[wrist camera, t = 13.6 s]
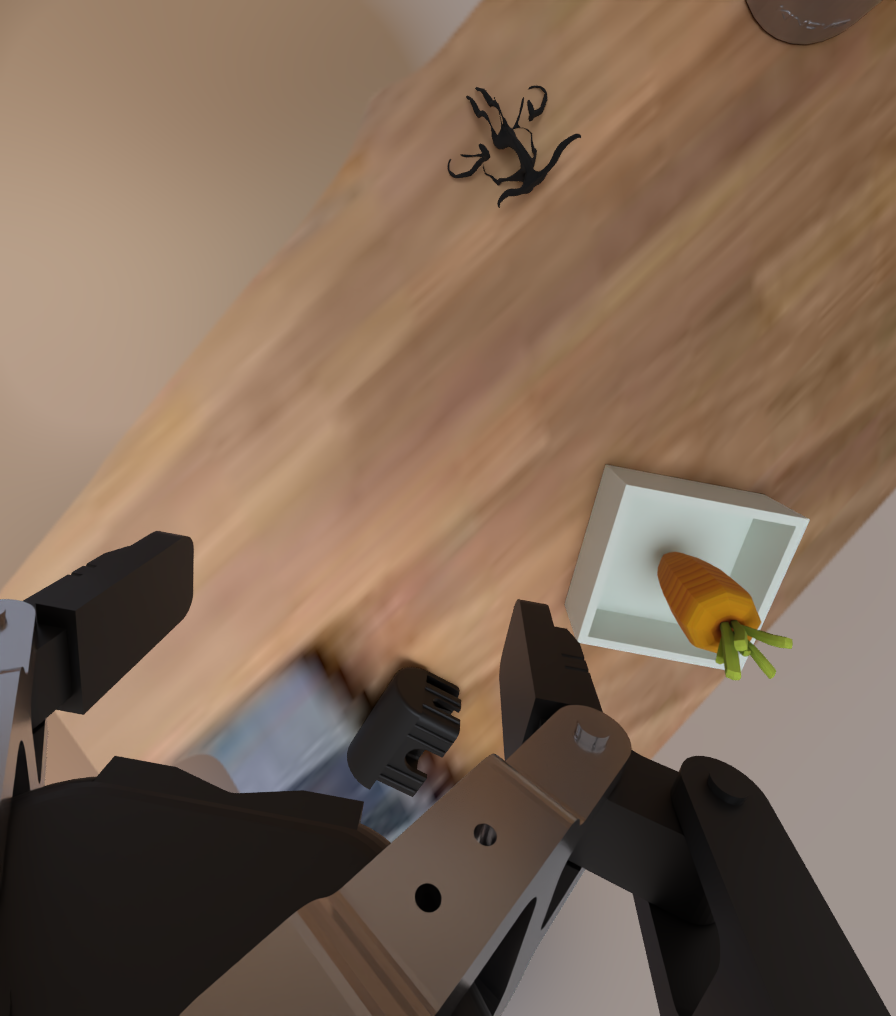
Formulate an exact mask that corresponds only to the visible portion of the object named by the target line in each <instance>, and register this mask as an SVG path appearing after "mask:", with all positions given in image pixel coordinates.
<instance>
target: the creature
mask: <svg viewBox="0 0 896 1016" xmlns="http://www.w3.org/2000/svg"><path fill="white" fill-rule="evenodd" d="M534 87H536V88H541V90H542V91H543V92H544V93H545V94H544V98H543V101H542V104H541V107H540V108H539V109H537V110H534V108H533V105H532V103H531V102H530V100H528V101H527V106H528V111H529V118H528V119H529V121H532V120H533V119H534V118H535V117H537V116H539V115H540V114H542V112H543V110H544V107H545V105H546V102H547V92H546V90H545V89H544V88H543V87H541V86H531V87H529V89H531V88H534ZM475 89H476V90H477V91H481V93H482V94H483V96H484V98H485V100H486V101H487V103H488V105H489V106H490V107H492V106H494V107H496V108H497V109H498V111H499V115H500V113H501V110H500V107H499V104H498V103H497V102H496V100H492V98H491V97H490V95H489V94H488V93H487V92H486V90H485V89H482V88H478V87H476V88H475ZM466 98H467V99H468V100H470V103H471V105H472V107H473V110H474V112H475V114H476V116H477V117H478V118H480V117H481V116H483V117H484V118H485V119H486V120H487V121H488V122H489V124H490V126H491V132H492V140H493V143H494V145H495V147H497V148H498V149H505V148H507V147H511V148H512V149H513V150H515V152H516V153H517V155H518V157H519V160H520V163H521V169H520V170H518V171H517V172H516V173H515V174H513V175H512V176H510V177H507V178H499V179H498V180H497V179H495V178H494V177H493V176H491V175H489V174H486V173H485V174H486V175H488V176H490V177H491V178H492V179H493V181H494V182H495V183H496V184H497V185H500V184H501V183H502V182H504V181H520V182H523V185H522V186H521V187H520V188H518V189H508V190H506V191H505V192H504V193H503V194H502V195H501V196H500V198H499V200H498V207H499V208H500V203H501V202H502V201H503V200H504V199H505V198H507V197H508V196H518V195H521V194H527V193H530V192H531V191H532V190H533V188H534V187H535V186H536V185H539V184H540V183H541V182H542V181H543V180H544V178H545V177H546V175H547V173H548V172H549V171H550V170H551V169H552V167H553V166H554V165H555V164H556V162H557V161H558V159H559V157H560V155H561V153H562V151H563V150H564V149H565V148H566V146H567V145H568V144H569V143H571V142H572V141H573V140H575V139H577V138H581V135H580V134H574V135H572V136H570V137H568V138H567V139H565V140H564V141H563V142H561V143H560V144H559V145H558V147H557V148H556V150H555V152H554V154H553V156H552V158H551V160H550V162H549V164H548V165H547V166H546V167H545V168H544V169H543V170H541V171H535V170H534V169H533V168H534V164H535V159H536V155H537V154H536V153H537V150H536V149H535V148H534V145H533V142H532V133H531V132H530V131H529V130H528V129H526V130H527V131H529V132H530V133H531V147H532V152H533V153H534V157H533V158H531V157H530V155H529V154H528V152H527V151H526V149H525V148H524V146H523V145H522V144H521V142H520V141H519V140H518V139H517V137H516V135H515V132H514V130H513V129H516V128H521V127H520V126H519V125H518V121H519V117H520V114H521V111H522V107H523V102H524V97H523V99H522V102H521V107H520V112H519V116H518V118H517V121H516V123H515V125H514V127H513V129H512V128H510V127H509V125H508V124H507V121H506V119H505V118H504V117H503V115H502V113H501V116H502V119H503V124H502V121H501V130H500V132H499V134H498V135H497V134H496V132H495V130H494V129H493V127H492V125H491V123H490V120H489V118H488V115H487V114H486V112H485V111H483V110H482V111H480V110H479V108H478V106H477V104H476V103H475V101H474V100H473V99H472V98H471V97H469V96H467V97H466ZM494 99H495V97H494ZM500 120H501V117H500ZM524 129H525V128H524ZM479 148H480V150H481V152H482V154H477V155H463V154H461V156H463V157H473V156H479V157H482V158H480V159H479V160H478V161H477V162H476V163H475V164H474V166H473V167H472V169H471V170H470V171H468V172H465V173H461V174H458V175H455V174H454V173H452V172H451V171H450V170H449V163H450V161H451V159H450V160H449V163H448V171H449V173H450V175H451V176H452V177H453V178H464V177H469V176H471V175H473V174H474V173H475V172H476V171H477V169H478V168H479V167H480V166H481V165H482V163H483V162H485V161H487V160H488V159H489V158H490V154H489V151H488V150H487V148H486V147H485V146H484V145H483V144H479ZM483 169H484V166H483ZM484 172H485V170H484Z"/></svg>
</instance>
